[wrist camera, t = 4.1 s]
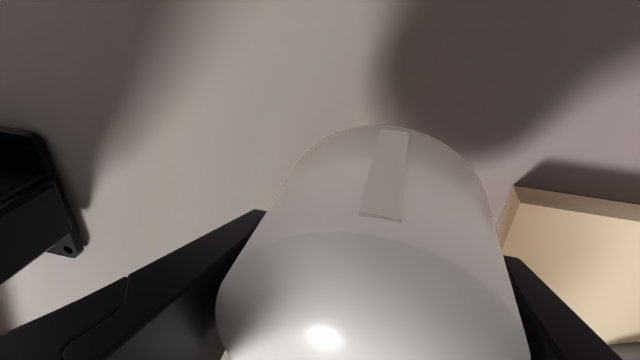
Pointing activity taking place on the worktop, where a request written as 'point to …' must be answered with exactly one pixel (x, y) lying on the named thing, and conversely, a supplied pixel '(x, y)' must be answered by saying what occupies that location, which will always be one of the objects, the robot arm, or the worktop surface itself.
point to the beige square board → (581, 257)
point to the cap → (373, 260)
